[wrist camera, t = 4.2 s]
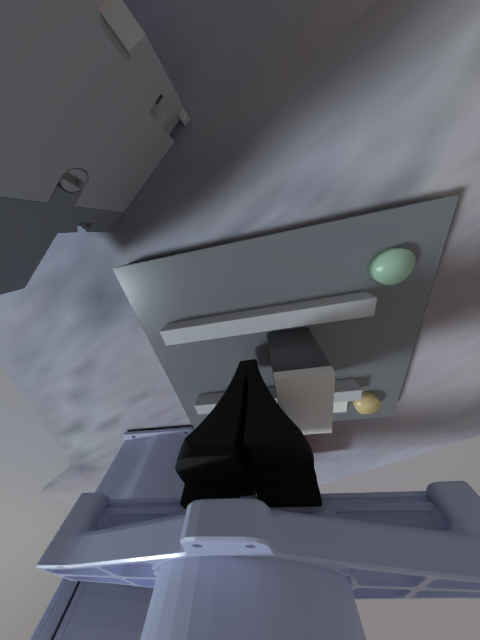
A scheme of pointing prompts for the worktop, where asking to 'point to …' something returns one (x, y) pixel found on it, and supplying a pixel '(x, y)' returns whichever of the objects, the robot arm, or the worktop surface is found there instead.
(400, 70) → the worktop surface
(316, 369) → the breaker handle
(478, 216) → the worktop surface
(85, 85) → the circuit breaker
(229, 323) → the breaker panel
